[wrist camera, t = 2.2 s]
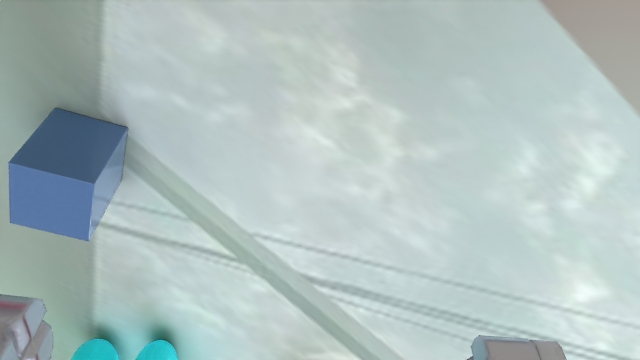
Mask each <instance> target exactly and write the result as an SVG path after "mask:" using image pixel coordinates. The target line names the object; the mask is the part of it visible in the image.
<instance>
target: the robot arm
mask: <svg viewBox="0 0 640 360" xmlns="http://www.w3.org/2000/svg"><path fill="white" fill-rule="evenodd" d="M46 311H47V310H46V307H45V304H44V302H43V299H38V298H29V297H20V296H11V295H2V294H0V360H50V358H51V354H52V350H53V332H52V328H51V326H50V325H49V324H47V323H46V322H45V321H44V320H42V319H43V317H44V315H45V313H46ZM471 349H472V354H473V356H472V357H470V358H469V359H467V360H567V359H566V357H565V354H564V352H563V350H562V347H561V346H560V345H559V344H558V343H557V342H552V341H540V340H528V339H523V338H509V337H495V336H481V335H479V336H478V337H476V338H475V339H474V341H473V343H472V346H471Z"/></svg>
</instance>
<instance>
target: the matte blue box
mask: <svg viewBox="0 0 640 360" xmlns="http://www.w3.org/2000/svg"><path fill="white" fill-rule="evenodd" d="M127 131H128V128H127V127H123V126H120V125H116V124H112V123H109V122H105V121H101V120H98V119H94V118H90V117H87V116H83V115H79V114H76V113H72V112H68V111H65V110H61V109H57V108H55V109H54V110H53V111H52V112H51V113H50V114H49V116H48V117H47V118H46V119H45V120H44V122H43V123H42V124H41V125H40V126H39V127H38V129H37V130H36V131H35V132H34V133H33V134H32V136H31V137H30V138H29V139H28V140H27V141H26V143H25V144H24V145H23V146H22V147H21V148H20V150H19V151H18V152H17V153H16V154H15V156H14V157H13V158H12V159H11V160H10V161H9V199H10V223H13V224H17V225H21V226H25V227H30V228H34V229H38V230H42V231H47V232H51V233H55V234H59V235H63V236H68V237H72V238H76V239H80V240H85V241H90V239H91V237H92V235H93V233H94V231H95V229H96V227H97V226H98V224H99V222H100V220H101V218H102V216H103V214H104V213H105V211H106V209H107V207H108V205H109V203H110V201H111V199H112V198H113V196H114V194H115V192H116V190H117V188H118V186H119V185H120V183H121V178H122V170H123V163H124V155H125V147H126V139H127Z"/></svg>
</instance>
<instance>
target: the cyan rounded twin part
mask: <svg viewBox="0 0 640 360" xmlns="http://www.w3.org/2000/svg"><path fill="white" fill-rule="evenodd" d="M71 360H119V356H118V354H117V351H116V350H115V348H114V347H113V345H111V344H110V343H109V342H108V341H106V340H103V339H92V340H89V341H87V342H85V343H84V344H83V345H82V346H80V347H79V349H78V350H77V351H76V352H75V354H74V355H73V357H72V359H71ZM136 360H178V358H177V354H176V351H175V349H174V347H173V346H172V345H171V344H170V343H169V342H167V341H164V340H156V341H153V342H151V343H149V344H148V345H146V346H145V347H144V348H143V349H142V351H141V352H140V353H139V355H138V357H137V358H136Z"/></svg>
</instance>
